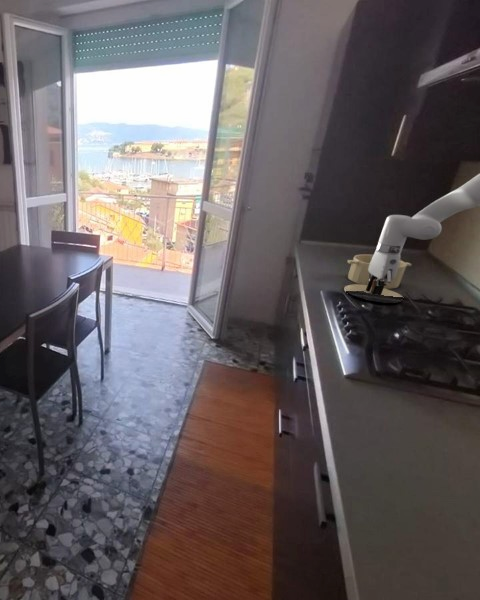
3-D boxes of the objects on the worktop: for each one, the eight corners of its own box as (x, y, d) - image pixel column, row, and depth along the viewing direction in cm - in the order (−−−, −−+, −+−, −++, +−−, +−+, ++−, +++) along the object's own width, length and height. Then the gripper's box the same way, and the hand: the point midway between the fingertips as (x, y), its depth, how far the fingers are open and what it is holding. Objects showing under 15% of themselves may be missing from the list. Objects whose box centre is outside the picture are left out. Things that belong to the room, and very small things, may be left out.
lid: (414, 307, 133) (421, 290, 130) (358, 303, 136) (363, 287, 133) (384, 288, 150) (390, 273, 147) (335, 285, 153) (339, 270, 150)
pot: (416, 290, 147) (425, 268, 143) (353, 286, 151) (360, 265, 147) (390, 275, 163) (397, 255, 159) (334, 272, 167) (339, 253, 163)
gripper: (414, 255, 127) (396, 301, 134) (387, 243, 141) (372, 285, 149) (390, 254, 128) (374, 300, 136) (366, 242, 143) (352, 284, 150)
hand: (373, 292), depth 142 cm, fingers open, 3 cm apart
